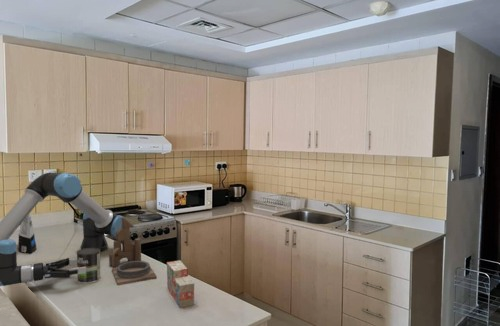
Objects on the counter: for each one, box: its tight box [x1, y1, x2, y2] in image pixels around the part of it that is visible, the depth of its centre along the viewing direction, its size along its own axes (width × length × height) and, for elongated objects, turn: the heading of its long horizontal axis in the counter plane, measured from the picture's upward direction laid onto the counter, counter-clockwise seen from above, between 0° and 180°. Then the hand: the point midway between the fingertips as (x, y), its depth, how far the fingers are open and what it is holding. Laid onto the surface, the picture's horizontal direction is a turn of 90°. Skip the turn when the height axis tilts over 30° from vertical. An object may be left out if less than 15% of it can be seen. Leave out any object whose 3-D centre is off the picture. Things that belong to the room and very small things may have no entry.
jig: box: [111, 260, 157, 286], centre depth 182 cm, size 20×18×4 cm
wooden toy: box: [108, 216, 142, 269], centre depth 197 cm, size 15×7×25 cm, turn 130°
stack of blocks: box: [166, 259, 195, 308], centre depth 158 cm, size 21×6×12 cm, turn 26°
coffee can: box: [76, 248, 101, 285], centre depth 176 cm, size 10×10×14 cm
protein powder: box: [17, 213, 38, 255], centre depth 221 cm, size 10×24×30 cm, turn 39°
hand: (85, 265), depth 174 cm, fingers open, 13 cm apart
